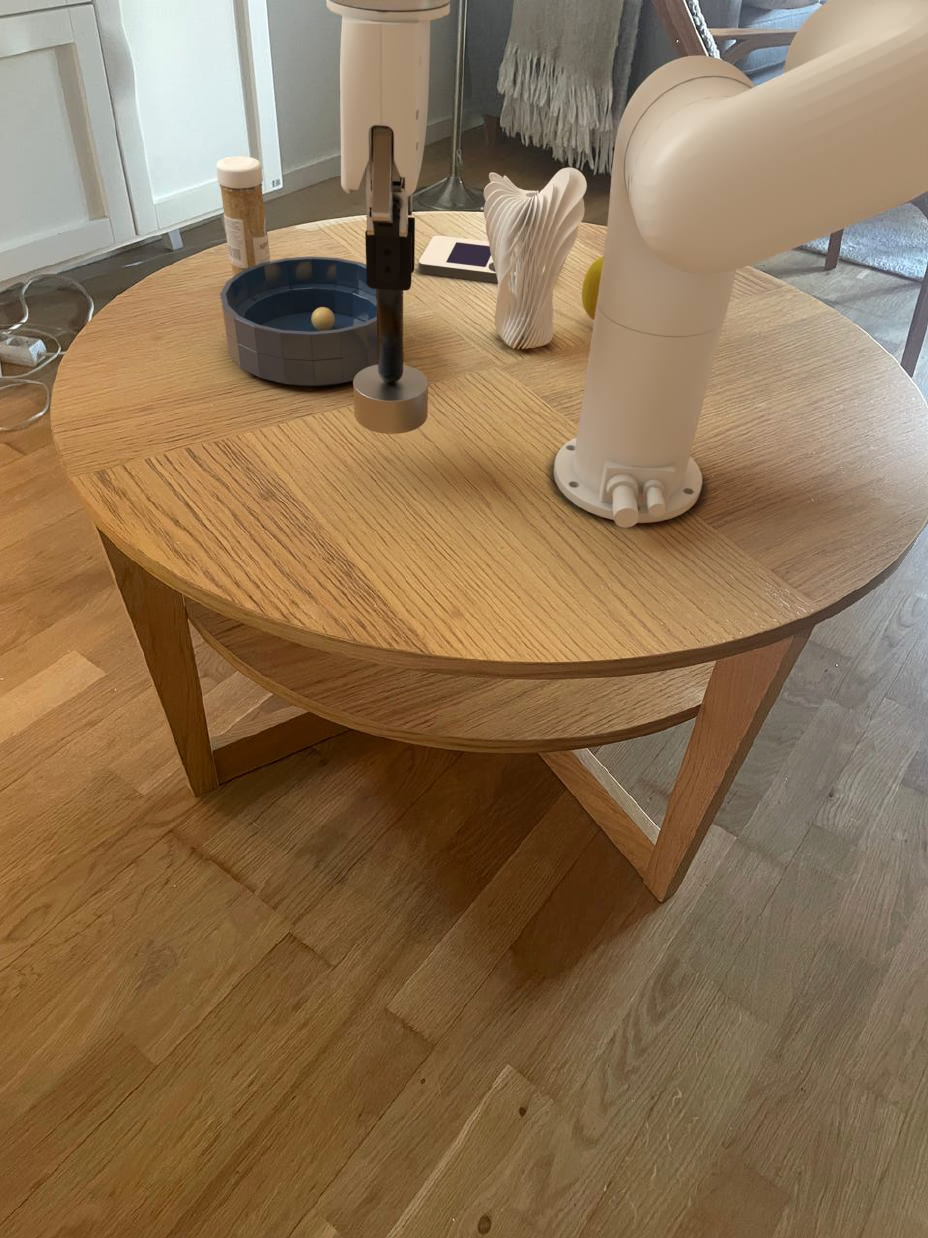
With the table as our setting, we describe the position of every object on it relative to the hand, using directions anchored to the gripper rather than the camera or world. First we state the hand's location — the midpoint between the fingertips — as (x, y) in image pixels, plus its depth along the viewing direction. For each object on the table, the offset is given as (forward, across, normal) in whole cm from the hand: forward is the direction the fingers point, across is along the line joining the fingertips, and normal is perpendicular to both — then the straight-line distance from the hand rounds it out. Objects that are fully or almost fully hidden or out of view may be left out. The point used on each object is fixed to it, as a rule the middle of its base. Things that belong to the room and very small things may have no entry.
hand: (391, 277), depth 68 cm
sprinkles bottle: (+17, -33, -19) cm, 42 cm away
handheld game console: (+17, -43, +7) cm, 47 cm away
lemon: (+17, -29, +20) cm, 39 cm away
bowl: (+17, -20, -10) cm, 28 cm away
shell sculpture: (+17, -24, +11) cm, 31 cm away
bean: (+15, -23, -9) cm, 29 cm away
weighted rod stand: (+12, 0, 0) cm, 12 cm away
